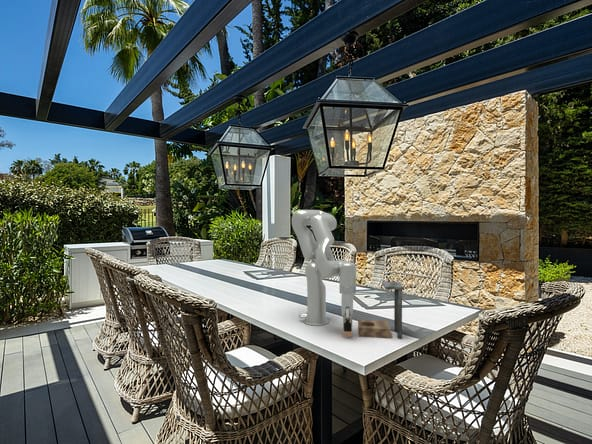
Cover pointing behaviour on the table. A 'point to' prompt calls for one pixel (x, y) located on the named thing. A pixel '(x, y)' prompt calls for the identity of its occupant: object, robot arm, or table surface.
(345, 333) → the peg
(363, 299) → the table surface
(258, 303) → the table surface
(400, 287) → the socket block
